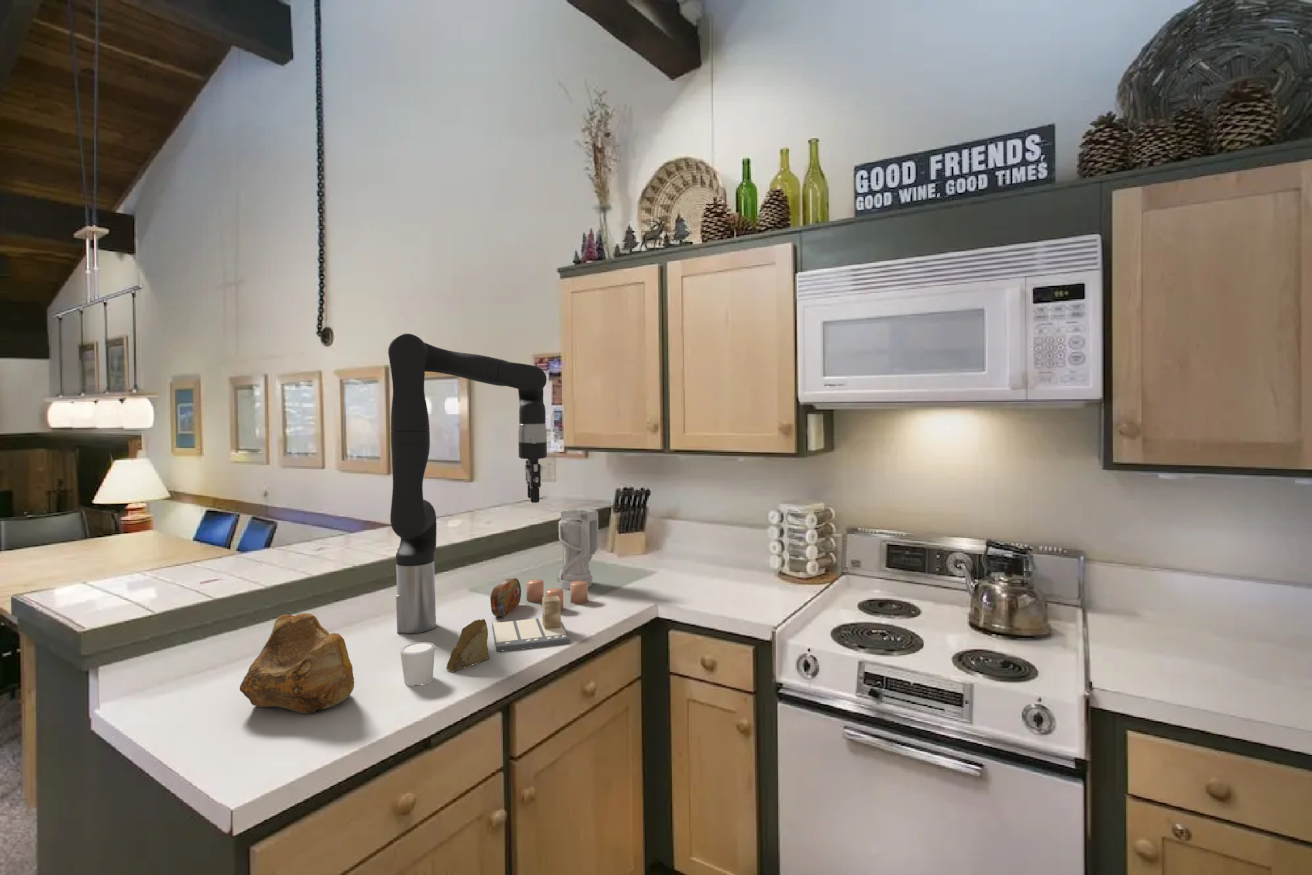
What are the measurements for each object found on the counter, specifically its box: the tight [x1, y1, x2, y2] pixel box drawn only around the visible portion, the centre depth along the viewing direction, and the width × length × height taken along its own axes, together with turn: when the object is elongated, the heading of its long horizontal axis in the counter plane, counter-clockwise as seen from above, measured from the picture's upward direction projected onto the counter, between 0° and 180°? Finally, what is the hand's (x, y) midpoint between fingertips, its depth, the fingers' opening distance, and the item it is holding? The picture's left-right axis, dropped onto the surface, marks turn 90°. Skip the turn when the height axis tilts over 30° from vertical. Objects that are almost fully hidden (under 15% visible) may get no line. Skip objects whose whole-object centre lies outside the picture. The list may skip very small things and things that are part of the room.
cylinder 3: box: [569, 581, 589, 605], centre depth 186 cm, size 5×5×6 cm
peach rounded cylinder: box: [525, 578, 545, 603], centre depth 188 cm, size 5×5×6 cm
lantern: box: [556, 507, 600, 590], centre depth 202 cm, size 13×10×25 cm
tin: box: [490, 577, 522, 618], centre depth 178 cm, size 15×3×8 cm, turn 168°
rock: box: [445, 618, 489, 673], centre depth 142 cm, size 11×9×10 cm
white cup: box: [399, 641, 436, 687], centre depth 134 cm, size 7×7×7 cm
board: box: [491, 617, 570, 652], centre depth 159 cm, size 17×17×1 cm
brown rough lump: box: [239, 612, 355, 715], centre depth 124 cm, size 23×17×15 cm
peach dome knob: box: [544, 587, 564, 612], centre depth 179 cm, size 5×5×6 cm
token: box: [541, 596, 562, 629], centre depth 162 cm, size 4×4×7 cm
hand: (533, 500), depth 173 cm, fingers open, 8 cm apart
